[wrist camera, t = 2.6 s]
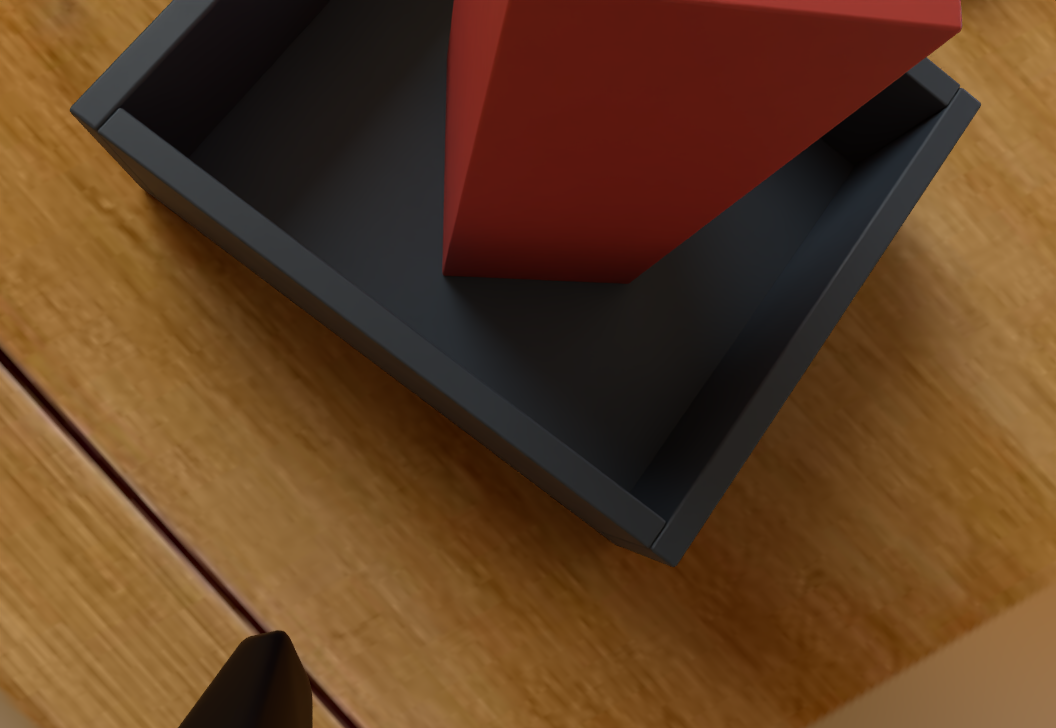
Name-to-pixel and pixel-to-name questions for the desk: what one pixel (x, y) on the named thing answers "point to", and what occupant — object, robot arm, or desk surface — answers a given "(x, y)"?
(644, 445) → the dark gray tray
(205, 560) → the desk surface
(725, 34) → the package
